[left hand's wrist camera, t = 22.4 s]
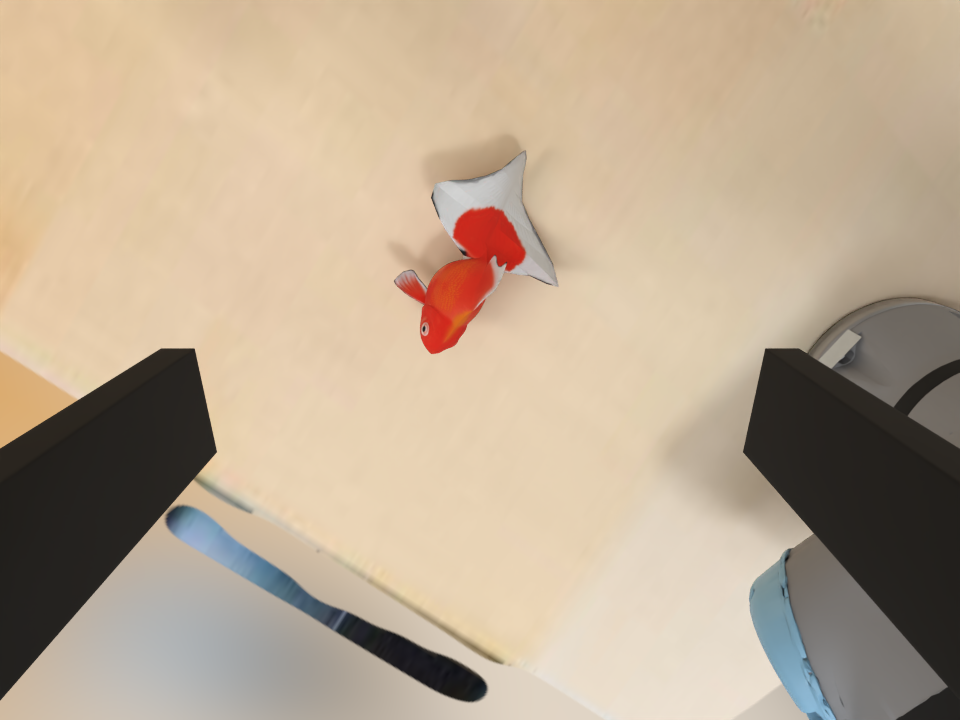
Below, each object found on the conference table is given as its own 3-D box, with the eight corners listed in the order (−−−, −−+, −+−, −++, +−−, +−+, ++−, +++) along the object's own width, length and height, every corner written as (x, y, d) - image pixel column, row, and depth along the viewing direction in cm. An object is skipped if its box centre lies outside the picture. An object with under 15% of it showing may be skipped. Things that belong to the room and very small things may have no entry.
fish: (330, 272, 39) (381, 294, 31) (460, 122, 41) (540, 106, 33) (424, 356, 45) (487, 393, 37) (533, 222, 47) (615, 228, 39)
